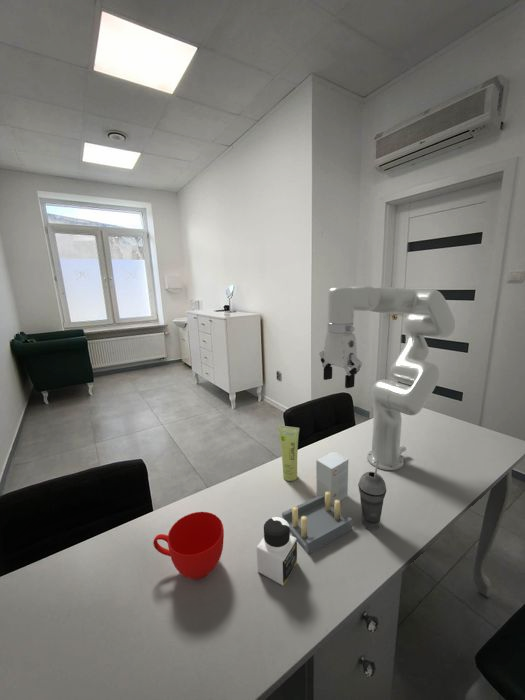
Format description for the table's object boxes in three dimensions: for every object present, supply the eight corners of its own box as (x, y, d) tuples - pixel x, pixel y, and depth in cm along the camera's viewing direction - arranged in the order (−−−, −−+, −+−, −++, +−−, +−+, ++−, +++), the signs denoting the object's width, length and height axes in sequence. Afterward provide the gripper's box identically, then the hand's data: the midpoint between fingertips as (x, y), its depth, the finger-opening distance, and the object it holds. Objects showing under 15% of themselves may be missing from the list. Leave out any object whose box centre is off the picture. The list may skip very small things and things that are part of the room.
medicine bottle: (283, 587, 67) (282, 542, 65) (257, 572, 71) (255, 528, 68) (297, 562, 73) (297, 520, 71) (272, 549, 77) (271, 509, 74)
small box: (332, 485, 100) (333, 450, 98) (348, 495, 95) (349, 458, 93) (315, 496, 96) (315, 459, 93) (331, 507, 91) (331, 468, 88)
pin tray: (323, 502, 93) (323, 483, 91) (351, 529, 82) (352, 508, 81) (282, 522, 85) (281, 502, 84) (308, 554, 75) (308, 531, 74)
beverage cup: (364, 509, 89) (367, 449, 85) (388, 523, 84) (392, 458, 80) (351, 523, 84) (354, 459, 80) (377, 538, 79) (380, 471, 75)
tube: (284, 483, 102) (283, 431, 98) (279, 474, 107) (278, 424, 103) (299, 480, 104) (299, 428, 100) (294, 471, 109) (293, 421, 104)
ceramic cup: (166, 544, 80) (162, 511, 77) (229, 544, 79) (227, 511, 77) (146, 593, 67) (140, 555, 65) (221, 593, 66) (218, 555, 64)
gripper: (371, 331, 85) (368, 388, 88) (330, 325, 99) (328, 374, 103) (352, 333, 81) (349, 393, 84) (312, 326, 96) (311, 378, 99)
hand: (338, 383), depth 94 cm, fingers open, 9 cm apart
